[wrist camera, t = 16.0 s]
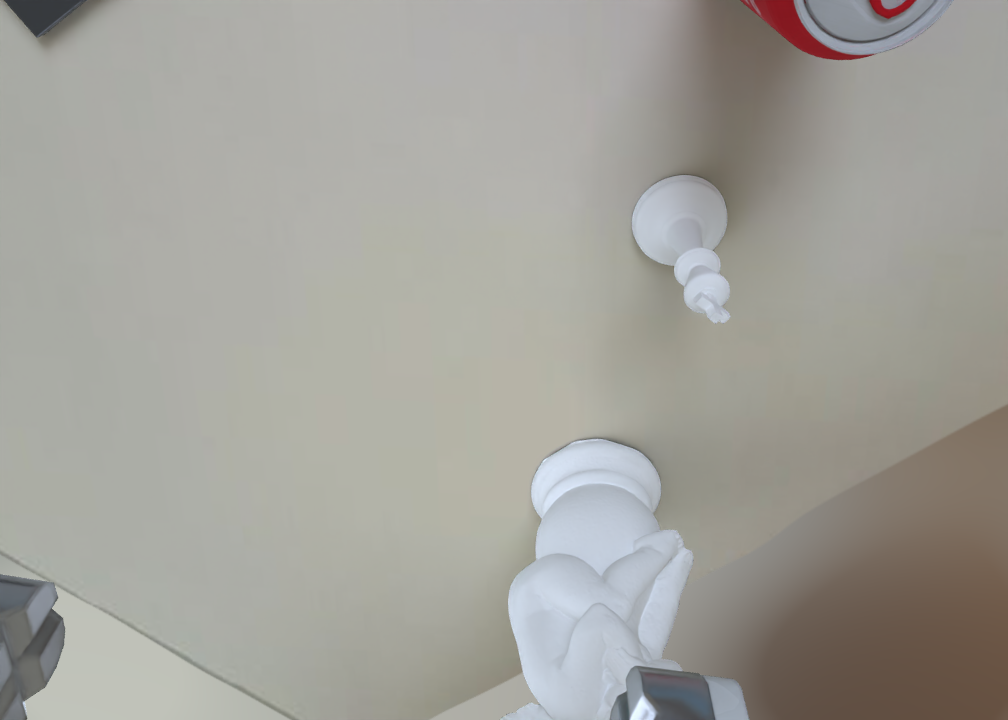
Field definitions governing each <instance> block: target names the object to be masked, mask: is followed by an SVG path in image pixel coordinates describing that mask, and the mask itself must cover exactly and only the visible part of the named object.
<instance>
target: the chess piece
mask: <svg viewBox="0 0 1008 720" xmlns="http://www.w3.org/2000/svg"><path fill="white" fill-rule="evenodd" d="M726 226H727V210H726V204H725V201H724V199H723V196H722V195H721V193H720V192H719V190H718V189H717V188H716V187H715V186H714V185H713V184H711V183H710V182H708V181H707V180H705V179H702V178H700V177H696V176H691V175H678V176H672V177H669V178H666V179H663V180H661V181H659V182H657V183H656V184H654V185H653V186H651V187H650V188H649V189H648V190H647V191H646V192H645V193H644V194H643V195H642V196H641V198H640V199H639V201H638V202H637V204H636V206H635V209H634V212H633V216H632V231H633V235H634V238H635V240H636V242H637V243H638V245H639V246H640V248H641V249H642V251H643V252H644V253H645V254H646V255H647V256H648V257H650V258H651V259H653V260H654V261H657V262H659V263H662V264H665V265H673V266H675V267H674V274H675V277H676V279H677V281H678V282H679V283H680V284H681V285H683V286H684V287H685V288H684V301H685V303H686V305H687V306H688V307H689V308H690V309H691V310H693V311H695V312H698V313H706V314H707V316H708V319H710V320H711V321H712V322H714V323H715V324H716V323H717V322H718V321H720V322H721V323H723V324H724V323H725V322H726V321H727V320H728V319H729V318H730V315H729V312H728V311H727V310H725V309H724V308H723V307H722V306H723V305H724V304H725V303H726V302H727V300H728V298H729V295H730V287H729V284H728V282H727V280H726V279H725V278H724V277H723V276H722V275H720V274H719V272H720V267H721V264H720V260H719V257H718V256H717V254H716V253H715V252H713V250H714V249H715V248H716V247H717V245H718V244H719V243H720V241H721V239H722V237H723V235H724V233H725V230H726Z"/></svg>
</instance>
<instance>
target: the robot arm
mask: <svg viewBox="0 0 1008 720" xmlns="http://www.w3.org/2000/svg"><path fill="white" fill-rule="evenodd" d="M57 599H58V595H57V592H56V588H55V585H54V582H47V581H41V580H34V579H27V578H21V577H14V576H7V575H2V574H0V720H27V714H26V707H25V700H27V699H28V698H30V697H31V696H33V695H34V694H36V693H37V692H39V691H40V690H42V689H43V688H45V687H46V685H47V683H48V682H49V680H50V678H51V676H52V674H53V672H54V671H55V669H56V667H57V664H58V661H59V658H60V655H61V652H62V649H63V646H64V638H65V626H64V622H63V618H62V617H61V616H60V615H58V614H57V613H56V612H55V611H54V610H53V609H52V607H53V606H54V604H55V602H56V601H57ZM626 688H627V691H626V692H624V693H622V694H620V695H618V696H617V698H616V700H615V702H614V705H613V707H612V709H611V715H610V720H749V716H748V712H747V708H746V704H745V700H744V696H743V692H742V689H741V687H740V685H739V684H738V682H737V681H736V680H733V679H730V678H722V677H713V676H706V675H700V674H699V673H691V672H684V671H676V670H668V669H660V668H652V667H644V666H634V667H633V668H631V669H630V671H629V673H628V675H627V677H626Z"/></svg>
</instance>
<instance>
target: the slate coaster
mask: <svg viewBox="0 0 1008 720" xmlns="http://www.w3.org/2000/svg"><path fill="white" fill-rule="evenodd" d="M4 1H5V2H6V3H7V4H8V5H9V6H10V8H11V9H12V10H13V11H14V12H15V13H16V14H17V16H18V17H19V18H20V19H21V20H22V21H23V22H24V24H25V25H26V26H27V27H28V28H29V29H30V30H31V32H32V33H33V34H34V35H35V36H36V37H40V36H43V35H45V34H46V33H47V32H48V31H50V30H51V29H52V28H53V27H54V26H56V25H57V24H58V23H59V22H61V21H62V20H63V19H64V18H66V17H67V16H68V15H69V14H71V13H72V12H73V11H74V10H76V9H77V8H78V7H79V6H81V5H82V4H83V3H84V2H86V1H87V0H4Z"/></svg>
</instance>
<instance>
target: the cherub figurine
mask: <svg viewBox="0 0 1008 720" xmlns="http://www.w3.org/2000/svg"><path fill="white" fill-rule="evenodd" d="M531 497H532V502H533V506H534V508H535V510H536V512H537V513H538V515H539V516H540V518H541V519H542V521H541V523H540V526H539V528H538V532H537V537H536V547H535V548H536V561H534V562H533V563H531V564H529V565H528V566H527V567H526V568H524V569H523V570H522V571H521V572H520V573H519V574H518V575H517V576H516V577H515V579H514V580H513V582H512V584H511V587H510V591H509V598H508V610H509V617H510V621H511V625H512V629H513V633H514V636H515V639H516V642H517V646H518V651H519V656H520V659H521V664H522V670H523V674H524V677H525V680H526V682H527V684H528V687H529V689H530V690H531V692H532V694H533V695H534V697H535V698H536V699H537V701H538V702H539V703H540V704H538V705H536V704H533V703H528V704H527V705H525V706H524V707H521V708H519V709H518V710H517V712H516V713H508V714H506V717H502V718H501V719H500V720H610V715H611V709H612V707H613V705H614V702H615V700H616V698H617V696H618V695H620V694H622V693H624V692H626V691H627V688H626V677H627V675H628V673H629V671H630V669H631V668H633V667H634V666H644V667H652V668H660V669H668V670H676V671H683V670H682V668H681V666H680V665H679V664H678V663H677V662H675V661H673V660H670V659H662V654H663V652H664V649H665V647H666V645H667V642H668V640H669V637H670V634H671V630H672V627H673V624H674V621H675V618H676V614H677V610H678V607H679V602H680V597H681V594H682V591H683V589H684V587H685V585H686V582H687V579H688V575H689V572H690V569H691V567H692V565H693V562H694V559H693V554H692V551H691V550H688V549H686V548H685V547H684V541H683V540H682V537H681V536H680V534H678V532H677V531H676V530H668V529H667V530H662V531H660V527H659V525H658V522H657V520H656V518H655V516H654V515H653V513H654V512H655V510H656V508H657V506H658V504H659V501H660V497H661V482H660V478H659V475H658V473H657V470H656V469H655V467H654V466H653V465H652V463H651V462H650V460H649V459H648V458H647V457H645V456H644V455H643V454H642V453H641V452H638V451H637V450H635V449H634V448H633V449H632V448H630V447H627V446H624V445H622V444H618V443H615V442H612V441H608V440H605V439H591V440H585V441H584V440H581V441H575V442H572V443H571V444H569V445H568V446H567V447H565V448H563V449H561V450H559V451H558V452H556V453H554V454H552V456H550V457H547V458H546V459H544V460H543V462H542V463H541V464H540V466H539V469H538V470H537V472H536V474H535V476H534V478H533V481H532V487H531Z"/></svg>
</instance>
